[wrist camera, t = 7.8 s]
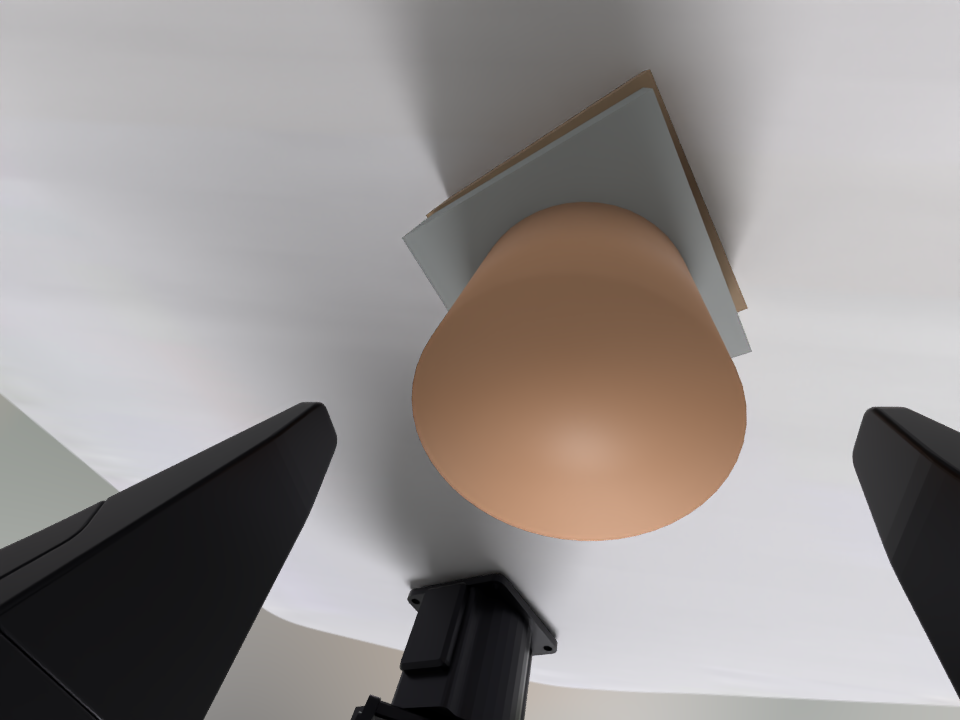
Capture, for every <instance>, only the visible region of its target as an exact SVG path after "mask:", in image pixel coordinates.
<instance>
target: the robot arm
mask: <svg viewBox="0 0 960 720" xmlns="http://www.w3.org/2000/svg"><path fill="white" fill-rule="evenodd" d="M336 445H337V435H336V432H335V429H334V427H333V424H332V422H331V419H330V416H329V414H328V411H327V409H326V407H325V406H324V404H322V403H320V402H302V403H299V404H297V405H295V406H293V407H291V408H289V409H287V410H285V411H283V412H281V413H279V414H277V415H275V416H273V417H271V418H269V419H267V420H265V421H263V422H261V423H259V424H257V425H255V426H253V427H251V428H249V429H247V430H245V431H243V432H241V433H239V434H236V435H234V436H232V437H230V438H228V439H226V440H224V441H222V442H220V443H218V444H216V445H214V446H212V447H210V448H208V449H206V450H204V451H202V452H200V453H198V454H196V455H194V456H192V457H190V458H188V459H186V460H184V461H182V462H180V463H178V464H176V465H174V466H172V467H170V468H168V469H166V470H164V471H162V472H160V473H157V474H155V475H153V476H151V477H149V478H147V479H145V480H143V481H141V482H139V483H137V484H135V485H133V486H131V487H129V488H127V489H125V490H123V491H121V492H119V493H117V494H115V495H113V496H111V497H109V498H108V499H107V500H106V501H101V502H99V503H97V504H95V505H93V506H91V507H88V508H86V509H84V510H82V511H81V512H78V513H76V514H74V515H72V516H70V517H68V518H66V519H64V520H62V521H60V522H58V523H55V524H54V525H51V526H50V527H47V528H45V529H43V530H41V531H39V532H37V533H34V534H32V535H30V536H28V537H26V538H24V539H21V540H20V541H17V542H15V543H13V544H11V545H8V546H6V547H4V548H2V549H0V720H203V719H204V718H205V716H206V714H207V712H208V710H209V708H210V706H211V704H212V702H213V700H214V698H215V696H216V694H217V693H218V691H219V689H220V687H221V685H222V683H223V681H224V679H225V677H226V675H227V673H228V671H229V669H230V667H231V665H232V663H233V662H234V660H235V658H236V656H237V654H238V652H239V650H240V648H241V646H242V644H243V642H244V640H245V638H246V636H247V634H248V632H249V631H250V629H251V627H252V625H253V623H254V621H255V619H256V617H257V615H258V613H259V611H260V609H261V607H262V605H263V603H264V602H265V600H266V598H267V596H268V594H269V592H270V590H271V588H272V586H273V584H274V582H275V580H276V578H277V576H278V574H279V573H280V571H281V569H282V567H283V565H284V563H285V561H286V559H287V557H288V555H289V553H290V551H291V549H292V547H293V545H294V543H295V542H296V540H297V538H298V536H299V534H300V532H301V530H302V528H303V526H304V524H305V522H306V520H307V518H308V516H309V514H310V511H311V509H312V507H313V504H314V502H315V499H316V497H317V494H318V492H319V489H320V487H321V484H322V482H323V479H324V477H325V474H326V472H327V469H328V467H329V464H330V462H331V459H332V457H333V454H334V451H335V449H336ZM853 465H854V468H855V471H856V474H857V476H858V479H859V482H860V484H861V487H862V490H863V492H864V495H865V498H866V500H867V503H868V506H869V509H870V511H871V514H872V517H873V519H874V522H875V525H876V527H877V530H878V533H879V536H880V538H881V541H882V544H883V546H884V549H885V551H886V554H887V556H888V559H889V561H890V563H891V565H892V568H893V570H894V572H895V574H896V576H897V578H898V580H899V582H900V584H901V586H902V588H903V590H904V592H905V594H906V596H907V598H908V600H909V601H910V603H911V605H912V607H913V609H914V611H915V613H916V615H917V617H918V619H919V621H920V623H921V625H922V627H923V629H924V631H925V633H926V635H927V637H928V638H929V640H930V642H931V644H932V646H933V648H934V650H935V652H936V654H937V656H938V658H939V660H940V662H941V664H942V666H943V668H944V670H945V672H946V674H947V675H948V677H949V679H950V681H951V683H952V685H953V687H954V689H955V691H956V693H957V695H958V697H959V699H960V432H958V431H956V430H953V429H951V428H949V427H947V426H945V425H943V424H940V423H938V422H936V421H934V420H932V419H930V418H928V417H925V416H923V415H921V414H919V413H917V412H915V411H912V410H910V409H908V408H905V407H872V408H870V409H868V410H867V411H866V412H865V414H864V416H863V419H862V422H861V426H860V429H859V432H858V435H857V439H856V442H855V445H854V449H853ZM407 599H408V602H409V603H410V604H411V605H412V606H413V607H414V608H415V610H416V611H417V612H418V614H417V617H416V619H415V622H414V625H413V628H412V631H411V634H410V637H409V639H408V642H407V645H406V648H405V651H404V654H403V657H402V659H401V663H400V669H401V670H402V675H401V677H400V681H399V683H398V686H397V689H396V692H395V695H394V698H393V701H392V703H391V704H389V703H386V702H383V701H381V698H379V697H376V696H373V695H370V696H369V698H368V700H367V702H366V704H365V706H361V707H356V708H355V710H354V713H353V715H352V718H351V720H524V716H525V709H526V701H527V693H528V685H529V677H530V669H531V661H532V656H534V655H544V654H553V653H555V652H556V651H557V641H556V639H555V638H554V637H553V636H552V634H551V633H550V632H549V631H548V629H547V628H546V627H545V626H544V624H543V623H542V622H541V621H540V619H539V618H538V617H537V616H536V615H535V613H534V612H533V611H532V610H531V608H530V607H529V606H528V605H527V603H526V602H525V601H524V600H523V598H522V597H521V596H520V595H519V594H518V592H517V591H516V590H515V589H514V587H513V586H512V585H511V584H510V582H509V581H508V580H507V579H506V578H505V577H504V576H503V575H500V574H489V575H484V576H479V577H474V578H469V579H464V580H459V581H454V582H449V583H444V584H439V585H434V586H429V587H424V588H419V589H414V590H411V591H410V593H409V596H408V598H407Z"/></svg>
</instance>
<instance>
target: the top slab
mask: <svg viewBox="0 0 960 720" xmlns="http://www.w3.org/2000/svg"><path fill="white" fill-rule="evenodd" d="M574 202H599V203H604V204H610V205H615V206H618V207H621V208H624V209H627V210H630V211H632V212H634V213H636V214H638V215H640V216H642V217H644V218H645V219H647V220H648V221H650V222H651V223H653V224H654V225H656V226H657V227H658V228H659V229H660V230H661V231H662V232H663V233H664V234H666V235H667V236H668V238H669V239H670V240H671V241H672V243H673V244H674V245H675V246H676V248H677V249H678V251H679V253H680V254H681V256H682V258H683V260H684V262H685V264H686V266H687V268H688V270H689V272H690V274H691V276H692V278H693V280H694V282H695V284H696V286H697V289H698V291H699V293H700V295H701V297H702V299H703V301H704V303H705V305H706V307H707V309H708V311H709V313H710V315H711V317H712V320H713V322H714V324H715V326H716V328H717V330H718V332H719V334H720V336H721V338H722V340H723V342H724V344H725V346H726V349H727V351H728V353H729V355H730V357H731V358H733V357H737V356H740V355H743V354H746V353H749V352H752V350H751V348H750V345H749V342H748V340H747V337H746V334H745V332H744V329H743V326H742V324H741V321H740V319H739V316H738V313H737V311H736V308H735V305H734V303H733V300H732V297H731V295H730V292H729V289H728V287H727V284H726V281H725V279H724V276H723V273H722V271H721V268H720V265H719V263H718V260H717V258H716V255H715V252H714V250H713V247H712V244H711V242H710V239H709V236H708V234H707V231H706V228H705V226H704V223H703V220H702V218H701V215H700V212H699V210H698V207H697V204H696V202H695V199H694V197H693V194H692V191H691V189H690V186H689V183H688V181H687V178H686V175H685V173H684V170H683V167H682V165H681V162H680V159H679V157H678V154H677V151H676V149H675V146H674V143H673V141H672V138H671V136H670V133H669V130H668V128H667V125H666V122H665V120H664V117H663V114H662V112H661V109H660V106H659V104H658V101H657V98H656V96H655V93H654V90H653V89H652V88H644V87H643V88H641V89H640V90H638V91H636V92H635V93H633V94H631V95H630V96H628V97H626V98H625V99H623V100H621V101H620V102H618V103H616V104H615V105H613V106H611V107H610V108H608V109H606V110H605V111H603V112H601V113H600V114H598V115H597V116H595V117H593V118H592V119H590V120H588V121H587V122H585V123H583V124H582V125H580V126H578V127H577V128H575V129H573V130H572V131H570V132H568V133H567V134H565V135H563V136H562V137H560V138H558V139H557V140H555V141H553V142H552V143H550V144H548V145H547V146H545V147H543V148H542V149H540V150H538V151H537V152H535V153H533V154H532V155H530V156H528V157H527V158H525V159H523V160H522V161H520V162H518V163H517V164H515V165H513V166H512V167H510V168H508V169H507V170H505V171H503V172H502V173H500V174H498V175H497V176H495V177H493V178H492V179H490V180H488V181H487V182H485V183H483V184H482V185H480V186H479V187H477V188H475V189H474V190H472V191H470V192H469V193H467V194H465V195H464V196H462V197H460V198H459V199H457V200H455V201H454V202H452V203H450V204H449V205H447V206H445V207H444V208H442V209H440V210H439V211H437V212H435V213H434V214H432V215H431V216H430V217H429V218H427V219H426V220H425V221H423V222H422V223H421V224H419V225H418V226H417V227H416V228H414V229H413V230H412V231H410V232H409V233H408V234H406V235H405V236H404V237H402V239H403V240H404V242H405V243H406V245H407V246H408V248H409V250H410V251H411V253H412V254H413V256H414V258H415V259H416V261H417V262H418V264H419V266H420V267H421V269H422V270H423V272H424V273H425V275H426V277H427V278H428V280H429V281H430V283H431V285H432V286H433V288H434V289H435V291H436V293H437V294H438V296H439V297H440V299H441V300H442V302H443V304H444V305H445V307H446V308H447V310H448V311H449V310H450V309H451V307H452V306H453V304H454V303H455V301H456V300H457V298H458V297H459V295H460V294H461V292H462V291H463V290H464V288H465V287H466V285H467V284H468V282H469V281H470V279H471V278H472V276H473V275H474V274H475V272H476V271H477V269H478V268H479V266H480V265H481V263H482V262H483V260H484V259H485V257H486V256H487V255H488V253H489V252H490V250H491V249H492V247H493V246H494V245H495V244H496V242H497V241H498V240H499V239H500V238H501V237H502V236H503V235H504V234H505V233H506V232H507V231H508V230H509V229H510V228H511V227H513V226H514V225H515V224H517V223H518V222H520V221H521V220H522V219H524V218H526V217H528V216H530V215H532V214H534V213H535V212H538V211H540V210H543V209H546V208H549V207H551V206H556V205H560V204H565V203H574Z"/></svg>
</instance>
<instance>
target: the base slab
mask: <svg viewBox="0 0 960 720" xmlns="http://www.w3.org/2000/svg"><path fill="white" fill-rule="evenodd" d="M643 87H644V88H652V89H653V90H654V93H655V96H656V98H657V101H658V104H659V106H660V109H661V112H662V114H663V117H664V120H665V122H666V125H667V128H668V130H669V133H670V136H671V138H672V141H673V143H674V146H675V149H676V151H677V154H678V157H679V159H680V162H681V165H682V167H683V170H684V173H685V175H686V178H687V181H688V183H689V186H690V189H691V191H692V194H693V197H694V199H695V202H696V204H697V207H698V210H699V212H700V215H701V218H702V220H703V223H704V226H705V228H706V231H707V234H708V236H709V239H710V242H711V244H712V247H713V250H714V252H715V255H716V258H717V260H718V263H719V265H720V268H721V271H722V273H723V276H724V279H725V281H726V284H727V287H728V289H729V292H730V295H731V297H732V300H733V303H734V305H735V308H736V311H737V312H739V311H742V310H745V309H747V305H746V303H745V300H744V298H743V295H742V293H741V291H740V288H739V286H738V283H737V281H736V278H735V276H734V273H733V271H732V269H731V266H730V264H729V261H728V259H727V256H726V254H725V251H724V249H723V247H722V244H721V242H720V239H719V237H718V234H717V232H716V229H715V227H714V225H713V222H712V220H711V217H710V215H709V212H708V210H707V207H706V205H705V203H704V200H703V198H702V195H701V193H700V190H699V188H698V186H697V183H696V181H695V178H694V176H693V173H692V171H691V168H690V166H689V164H688V161H687V159H686V156H685V154H684V151H683V149H682V146H681V144H680V142H679V139H678V137H677V134H676V132H675V129H674V127H673V124H672V122H671V120H670V117H669V115H668V112H667V110H666V107H665V105H664V102H663V100H662V98H661V95H660V93H659V90H658V88H657V85H656V83H655V80H654V78H653V76H652V73H651V71H650V70H646V71H643V72H641V73H640V74H638V75H637V76H635V77H634V78H632V79H631V80H629V81H628V82H626V83H625V84H623V85H621V86H620V87H618V88H617V89H615V90H614V91H612V92H611V93H609V94H608V95H606V96H605V97H603V98H602V99H600V100H598V101H597V102H595V103H594V104H592V105H591V106H589V107H588V108H586V109H585V110H583V111H582V112H580V113H579V114H577V115H576V116H574V117H572V118H571V119H569V120H568V121H566V122H565V123H563V124H562V125H560V126H559V127H557V128H556V129H554V130H553V131H551V132H550V133H548V134H546V135H545V136H543V137H542V138H540V139H539V140H537V141H536V142H534V143H533V144H531V145H530V146H528V147H527V148H525V149H523V150H522V151H520V152H519V153H517V154H516V155H514V156H513V157H511V158H510V159H508V160H507V161H505V162H504V163H502V164H501V165H499V166H497V167H496V168H494V169H493V170H491V171H490V172H488V173H487V174H485V175H484V176H482V177H481V178H479V179H478V180H476V181H475V182H473V183H471V184H470V185H468V186H467V187H465V188H464V189H462V190H461V191H459V192H458V193H456V194H455V195H453V196H452V197H450V198H448V199H447V200H446V201H444V202H443V203H442V204H440V205H439V206H438V207H436V208H435V209H434V210H432V211H431V212H430V213H428V214H427V215H426V216H427V217H428V218H429V217H430V216H431V215H432V214H434V213H435V212H437V211H439V210H440V209H442V208H444V207H445V206H447V205H449V204H450V203H452V202H454V201H455V200H457V199H459V198H460V197H462V196H464V195H465V194H467V193H469V192H470V191H472V190H474V189H475V188H477V187H479V186H480V185H482V184H483V183H485V182H487V181H488V180H490V179H492V178H493V177H495V176H497V175H498V174H500V173H502V172H503V171H505V170H507V169H508V168H510V167H512V166H513V165H515V164H517V163H518V162H520V161H522V160H523V159H525V158H527V157H528V156H530V155H532V154H533V153H535V152H537V151H538V150H540V149H542V148H543V147H545V146H547V145H548V144H550V143H552V142H553V141H555V140H557V139H558V138H560V137H562V136H563V135H565V134H567V133H568V132H570V131H572V130H573V129H575V128H577V127H578V126H580V125H582V124H583V123H585V122H587V121H588V120H590V119H592V118H593V117H595V116H597V115H598V114H600V113H601V112H603V111H605V110H606V109H608V108H610V107H611V106H613V105H615V104H616V103H618V102H620V101H621V100H623V99H625V98H626V97H628V96H630V95H631V94H633V93H635V92H636V91H638V90H640V89H641V88H643Z"/></svg>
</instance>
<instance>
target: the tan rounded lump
mask: <svg viewBox="0 0 960 720" xmlns="http://www.w3.org/2000/svg"><path fill="white" fill-rule="evenodd" d="M412 408H413V417H414V421H415V425H416V430H417V433H418V435H419V438H420V441H421V443H422V446H423V448H424V450H425V451H426V453H427V455H428V457H429V459H430V460H431V462H432V463H433V465H434V466H435V468H436V469H437V470H438V472H439V473H440V474H441V476H442V477H443V478H444V479H445V480H446V481H447V482H448V483H449V484H450V486H451V487H452V488H454V489H455V490H456V491H457V492H458V493H459V494H460V495H461V496H463V497H464V498H465V499H466V500H468V501H469V502H470V503H472V504H473V505H475V506H476V507H477V508H479V509H480V510H482V511H484V512H486V513H487V514H489V515H491V516H492V517H494V518H496V519H498V520H500V521H503V522H505V523H507V524H509V525H512V526H514V527H517V528H520V529H522V530H525V531H528V532H532V533H536V534H539V535H543V536H548V537H554V538H559V539H568V540H578V541H602V540H613V539H621V538H627V537H632V536H637V535H641V534H644V533H647V532H651V531H654V530H657V529H659V528H662V527H664V526H667V525H669V524H672V523H673V522H675V521H677V520H679V519H681V518H683V517H684V516H686V515H688V514H689V513H691V512H692V511H694V510H695V509H696V508H698V507H699V506H701V505H702V504H703V503H704V502H705V501H706V500H708V499H709V498H710V497H711V496H712V495H713V494H714V493H715V492H716V491H717V490H718V489H719V487H720V486H721V485H722V484H723V482H724V481H725V480H726V479H727V477H728V476H729V474H730V472H731V470H732V469H733V467H734V465H735V463H736V462H737V459H738V456H739V454H740V451H741V448H742V445H743V442H744V436H745V430H746V401H745V396H744V391H743V386H742V383H741V381H740V378H739V375H738V373H737V370H736V367H735V365H734V363H733V361H732V359H731V357H730V355H729V353H728V351H727V349H726V346H725V344H724V342H723V340H722V338H721V336H720V334H719V332H718V330H717V328H716V326H715V324H714V322H713V320H712V317H711V315H710V313H709V311H708V309H707V307H706V305H705V303H704V301H703V299H702V297H701V295H700V293H699V291H698V289H697V286H696V284H695V282H694V280H693V278H692V276H691V274H690V272H689V270H688V268H687V266H686V264H685V262H684V260H683V258H682V256H681V254H680V253H679V251H678V249H677V248H676V246H675V245H674V244H673V243H672V241H671V240H670V239H669V238H668V236H667V235H666V234H664V233H663V232H662V231H661V230H660V229H659V228H658V227H657V226H656V225H654V224H653V223H651V222H650V221H648V220H647V219H645V218H644V217H642V216H640V215H638V214H636V213H634V212H632V211H630V210H627V209H624V208H621V207H618V206H615V205H610V204H604V203H599V202H574V203H565V204H560V205H556V206H551V207H549V208H546V209H543V210H540V211H538V212H535V213H534V214H532V215H530V216H528V217H526V218H524V219H522V220H521V221H520V222H518V223H517V224H515V225H514V226H513V227H511V228H510V229H509V230H508V231H507V232H506V233H505V234H504V235H503V236H502V237H501V238H500V239H499V240H498V241H497V242H496V244H495V245H494V246H493V247H492V249H491V250H490V252H489V253H488V255H487V256H486V257H485V259H484V260H483V262H482V263H481V265H480V266H479V268H478V269H477V271H476V272H475V274H474V275H473V276H472V278H471V279H470V281H469V282H468V284H467V285H466V287H465V288H464V290H463V291H462V292H461V294H460V295H459V297H458V298H457V300H456V301H455V303H454V304H453V306H452V307H451V309H450V310H449V311H448V313H447V314H446V316H445V317H444V319H443V320H442V322H441V323H440V325H439V326H438V328H437V329H436V330H435V332H434V333H433V335H432V336H431V338H430V340H429V341H428V343H427V345H426V346H425V348H424V350H423V352H422V354H421V357H420V359H419V362H418V364H417V367H416V371H415V376H414V380H413V387H412Z"/></svg>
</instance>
